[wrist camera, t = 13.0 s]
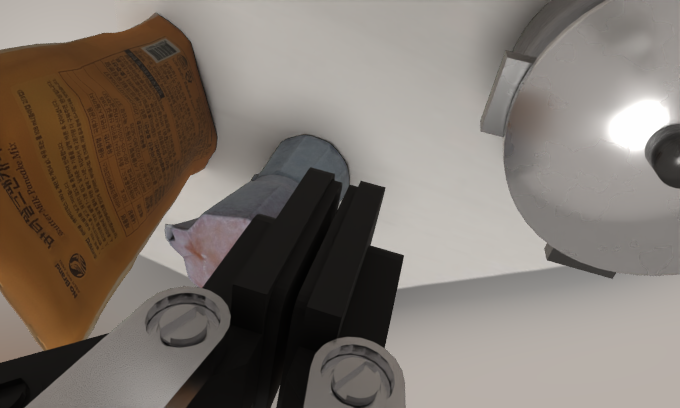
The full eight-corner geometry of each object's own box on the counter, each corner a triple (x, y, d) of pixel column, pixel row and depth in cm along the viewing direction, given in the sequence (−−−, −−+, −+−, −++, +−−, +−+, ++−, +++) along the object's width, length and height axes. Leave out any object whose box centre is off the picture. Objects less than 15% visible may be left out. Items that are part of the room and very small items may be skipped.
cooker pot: (544, -110, 35) (572, -120, 25) (837, -51, 33) (998, -36, 23) (448, 170, 47) (441, 239, 37) (655, 226, 45) (706, 314, 35)
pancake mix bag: (193, -9, 44) (-119, 75, 21) (243, 176, 54) (63, 378, 30) (132, 0, 46) (-219, 86, 23) (190, 178, 55) (-19, 369, 32)
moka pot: (252, 108, 49) (137, 207, 32) (396, 157, 48) (354, 285, 31) (240, 185, 54) (135, 305, 38) (370, 231, 53) (322, 375, 36)
